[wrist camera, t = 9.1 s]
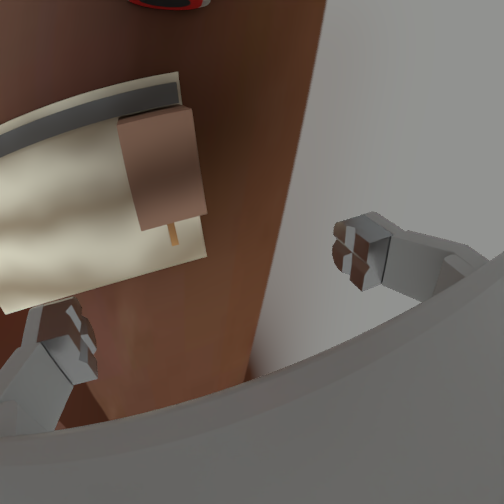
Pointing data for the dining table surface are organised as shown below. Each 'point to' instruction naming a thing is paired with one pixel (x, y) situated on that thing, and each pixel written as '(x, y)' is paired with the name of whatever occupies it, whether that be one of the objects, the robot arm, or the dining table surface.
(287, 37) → the dining table surface
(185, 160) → the brown cardboard brick
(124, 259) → the board
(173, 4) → the toy hammer
